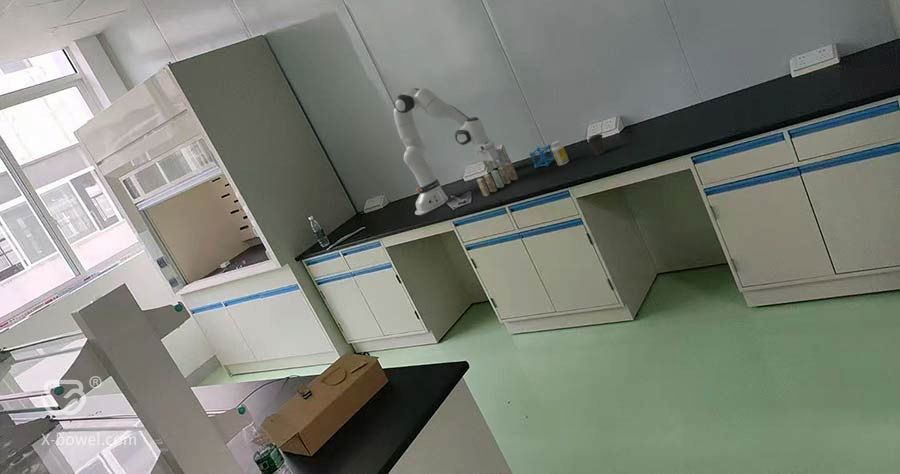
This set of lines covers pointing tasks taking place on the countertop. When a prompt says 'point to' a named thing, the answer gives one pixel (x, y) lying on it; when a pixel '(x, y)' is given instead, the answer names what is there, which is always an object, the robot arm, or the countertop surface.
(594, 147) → the coffee cup
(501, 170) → the domino
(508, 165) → the domino
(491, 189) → the domino
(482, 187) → the domino
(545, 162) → the molecular structure
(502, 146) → the candy bar box
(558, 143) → the supplement bottle
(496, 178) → the sage domino
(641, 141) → the countertop surface
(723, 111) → the countertop surface
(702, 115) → the countertop surface
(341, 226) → the countertop surface
